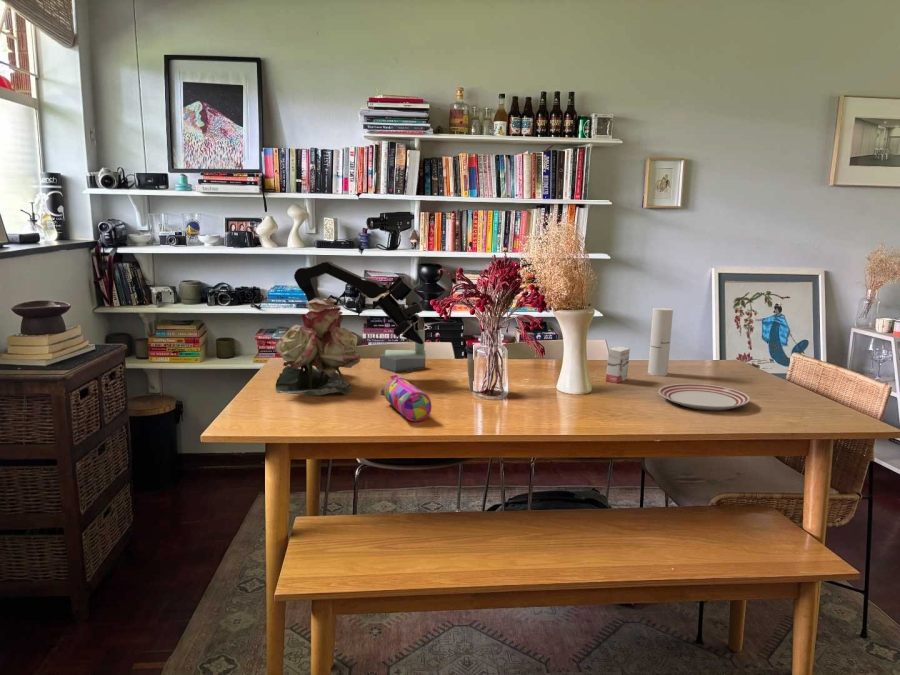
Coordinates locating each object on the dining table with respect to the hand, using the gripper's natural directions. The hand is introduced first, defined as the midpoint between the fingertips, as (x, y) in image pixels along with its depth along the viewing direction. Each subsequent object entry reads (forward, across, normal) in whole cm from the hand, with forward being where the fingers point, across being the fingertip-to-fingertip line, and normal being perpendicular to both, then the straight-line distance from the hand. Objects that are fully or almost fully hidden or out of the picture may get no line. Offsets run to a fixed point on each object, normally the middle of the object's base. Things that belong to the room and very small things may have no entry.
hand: (423, 342), depth 231 cm
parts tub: (+2, +18, +18) cm, 25 cm away
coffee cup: (+24, -8, -5) cm, 26 cm away
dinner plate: (+75, -5, -56) cm, 94 cm away
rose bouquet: (-12, -18, +32) cm, 38 cm away
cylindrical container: (+69, +34, -50) cm, 92 cm away
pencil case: (+12, -39, +8) cm, 42 cm away
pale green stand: (-1, -1, +8) cm, 8 cm away
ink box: (+58, +19, -38) cm, 72 cm away
